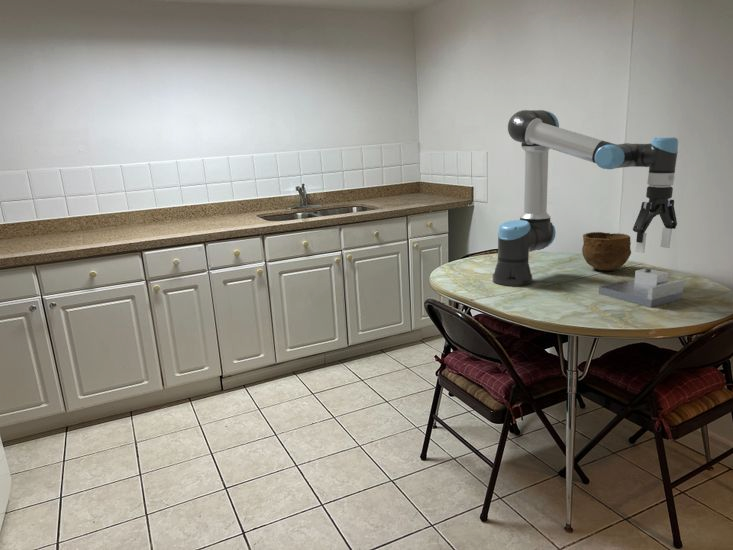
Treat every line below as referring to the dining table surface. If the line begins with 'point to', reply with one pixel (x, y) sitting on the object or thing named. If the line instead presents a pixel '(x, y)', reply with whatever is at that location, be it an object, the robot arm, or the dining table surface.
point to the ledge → (653, 298)
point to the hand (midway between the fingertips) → (652, 249)
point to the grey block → (648, 279)
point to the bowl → (606, 250)
